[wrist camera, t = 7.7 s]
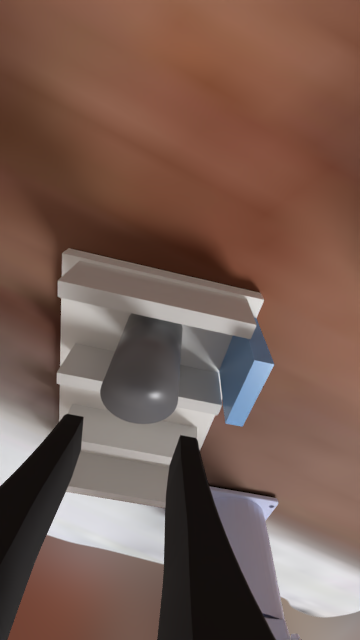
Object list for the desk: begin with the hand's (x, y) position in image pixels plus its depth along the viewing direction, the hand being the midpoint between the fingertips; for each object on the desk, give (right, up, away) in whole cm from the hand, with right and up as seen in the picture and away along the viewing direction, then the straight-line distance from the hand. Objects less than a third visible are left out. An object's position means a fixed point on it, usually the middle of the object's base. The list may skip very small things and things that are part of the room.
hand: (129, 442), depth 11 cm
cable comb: (-1, 0, +11) cm, 11 cm away
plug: (0, +4, +7) cm, 8 cm away
